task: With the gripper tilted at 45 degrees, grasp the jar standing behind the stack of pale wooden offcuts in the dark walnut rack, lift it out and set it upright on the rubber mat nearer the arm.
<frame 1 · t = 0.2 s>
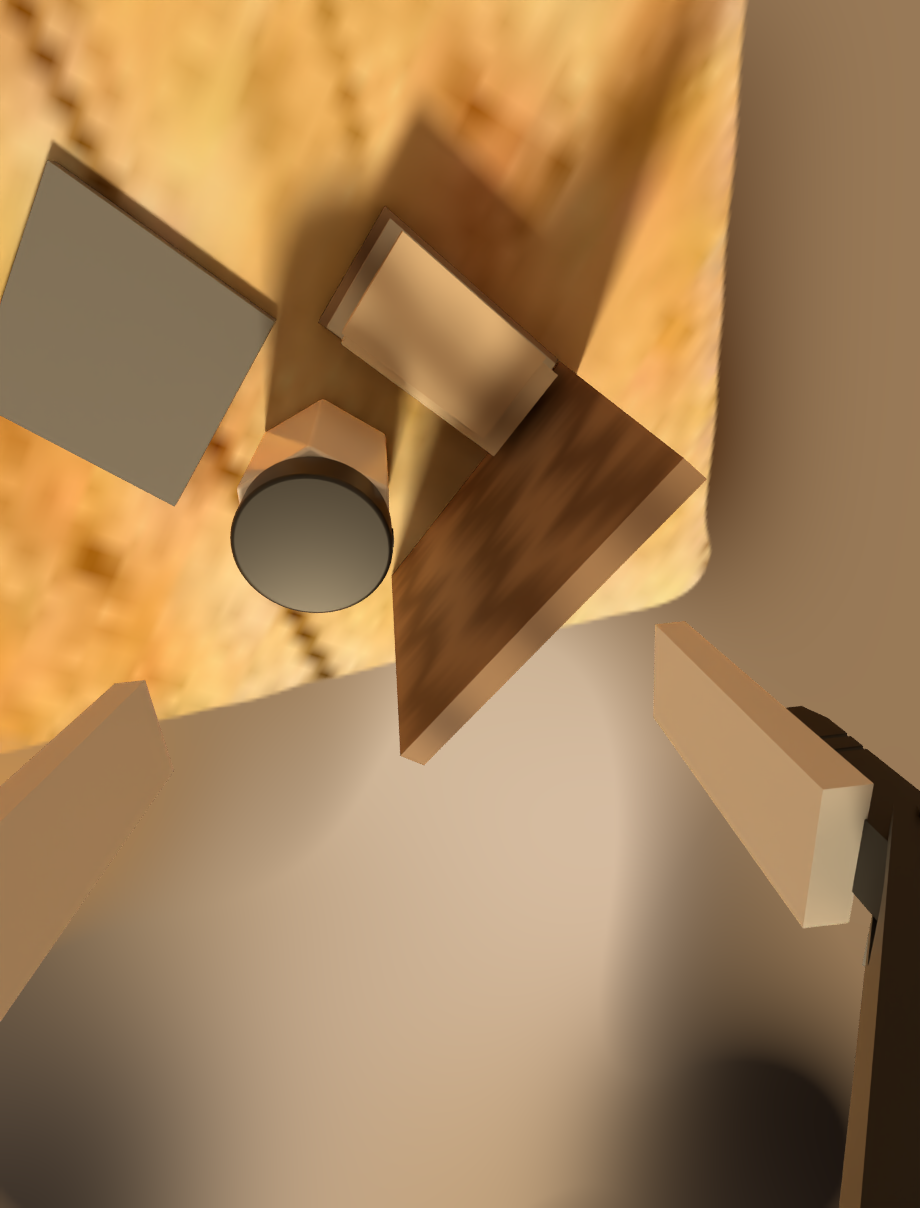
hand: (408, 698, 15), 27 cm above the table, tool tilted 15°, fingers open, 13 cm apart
jar: (328, 464, 39), on the table
rubber mat: (126, 357, 34), on the table
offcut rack: (381, 413, 37), on the table
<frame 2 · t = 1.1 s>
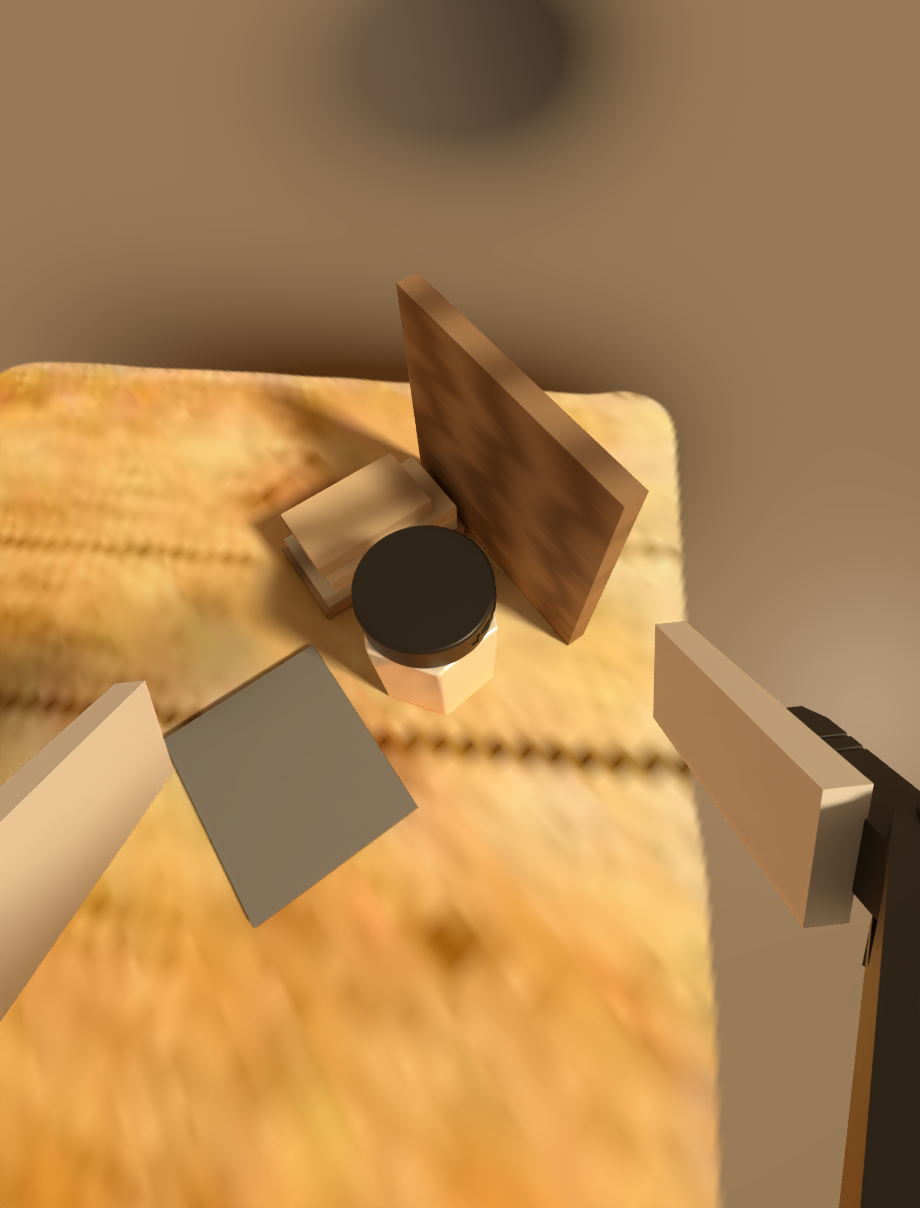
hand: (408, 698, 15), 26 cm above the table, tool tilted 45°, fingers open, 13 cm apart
jar: (436, 658, 43), on the table
rubber mat: (289, 773, 39), on the table
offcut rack: (410, 601, 44), on the table
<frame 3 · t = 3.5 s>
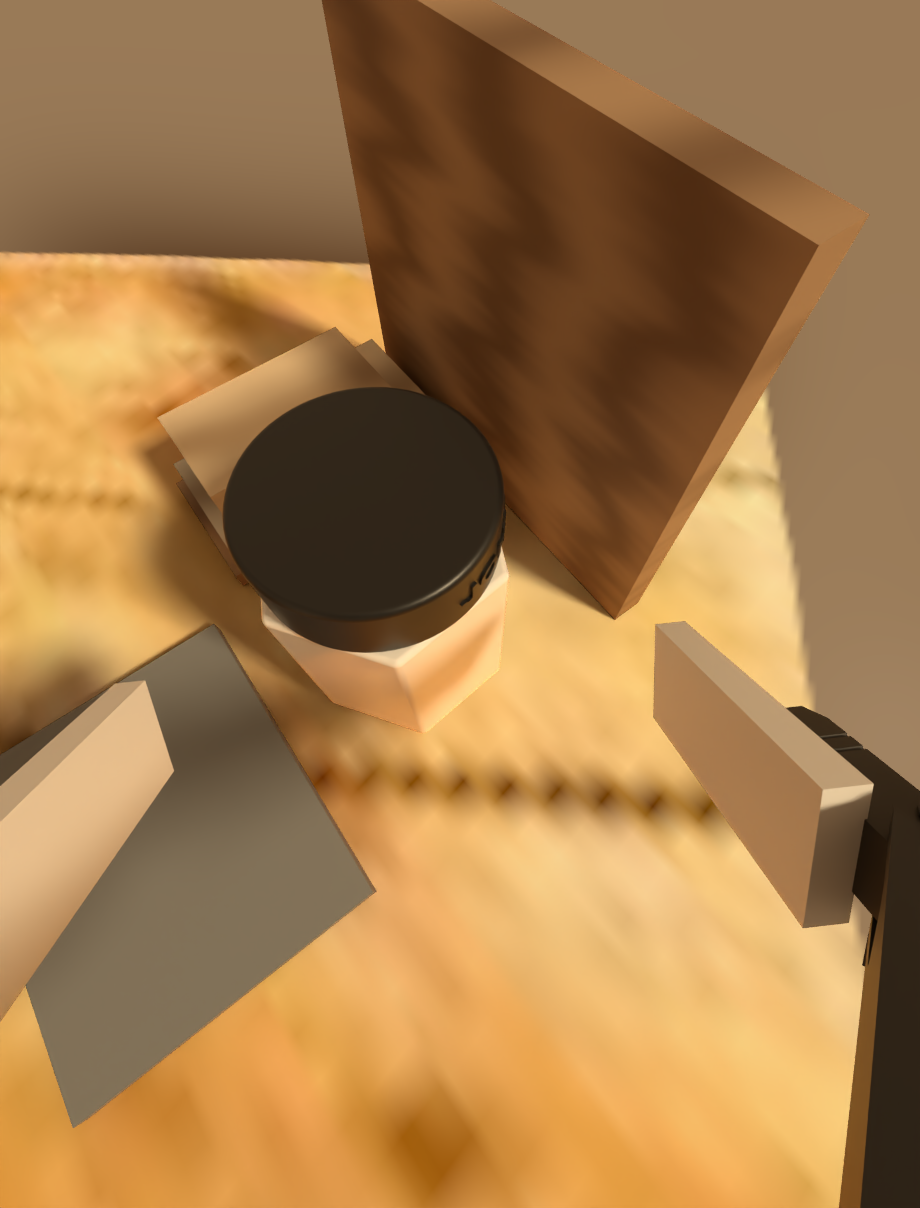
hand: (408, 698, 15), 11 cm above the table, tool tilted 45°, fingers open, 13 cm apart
jar: (409, 643, 27), on the table
rubber mat: (165, 834, 24), on the table
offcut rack: (370, 557, 29), on the table
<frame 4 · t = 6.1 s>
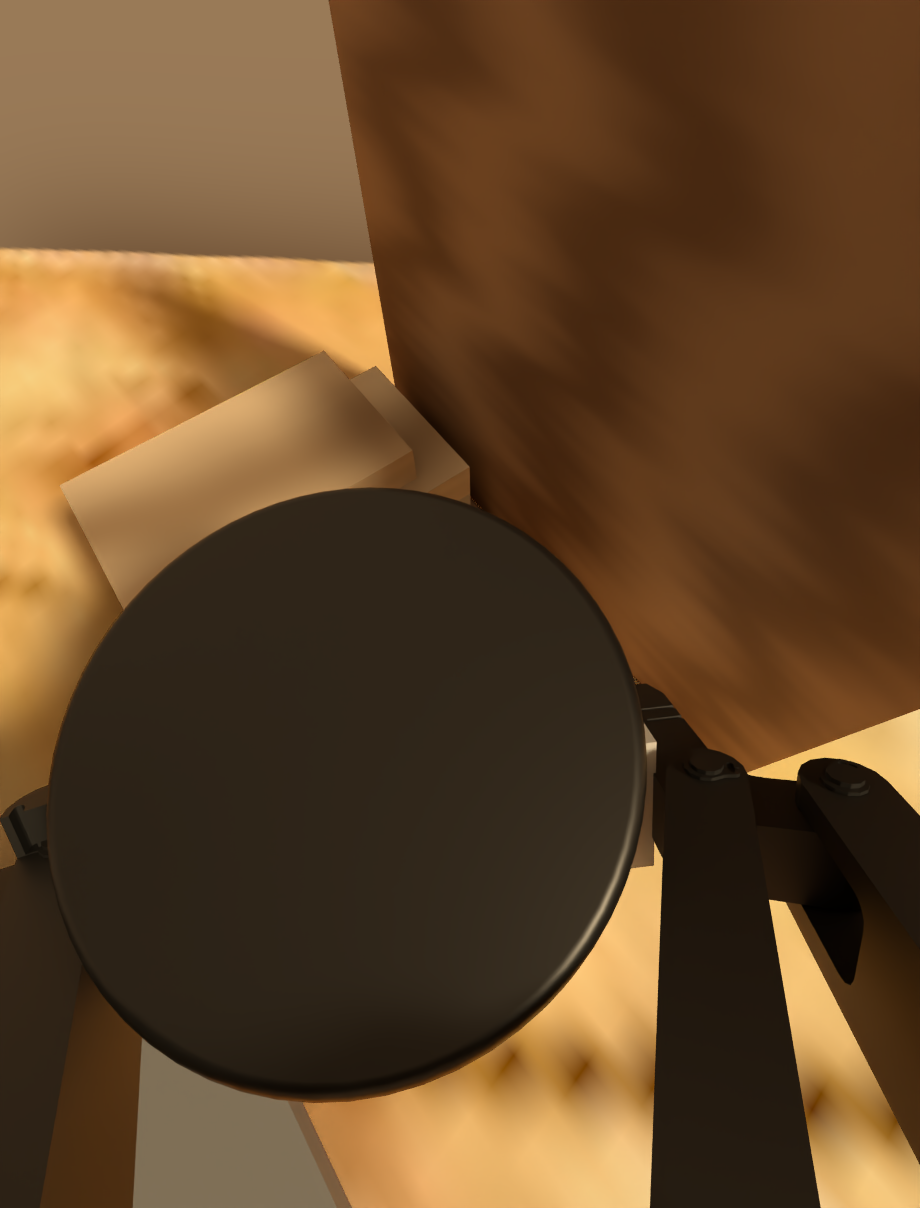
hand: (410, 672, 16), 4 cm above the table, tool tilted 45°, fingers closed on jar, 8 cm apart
jar: (423, 811, 19), on the table, touching gripper
rubber mat: (49, 1147, 15), on the table
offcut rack: (372, 675, 21), on the table
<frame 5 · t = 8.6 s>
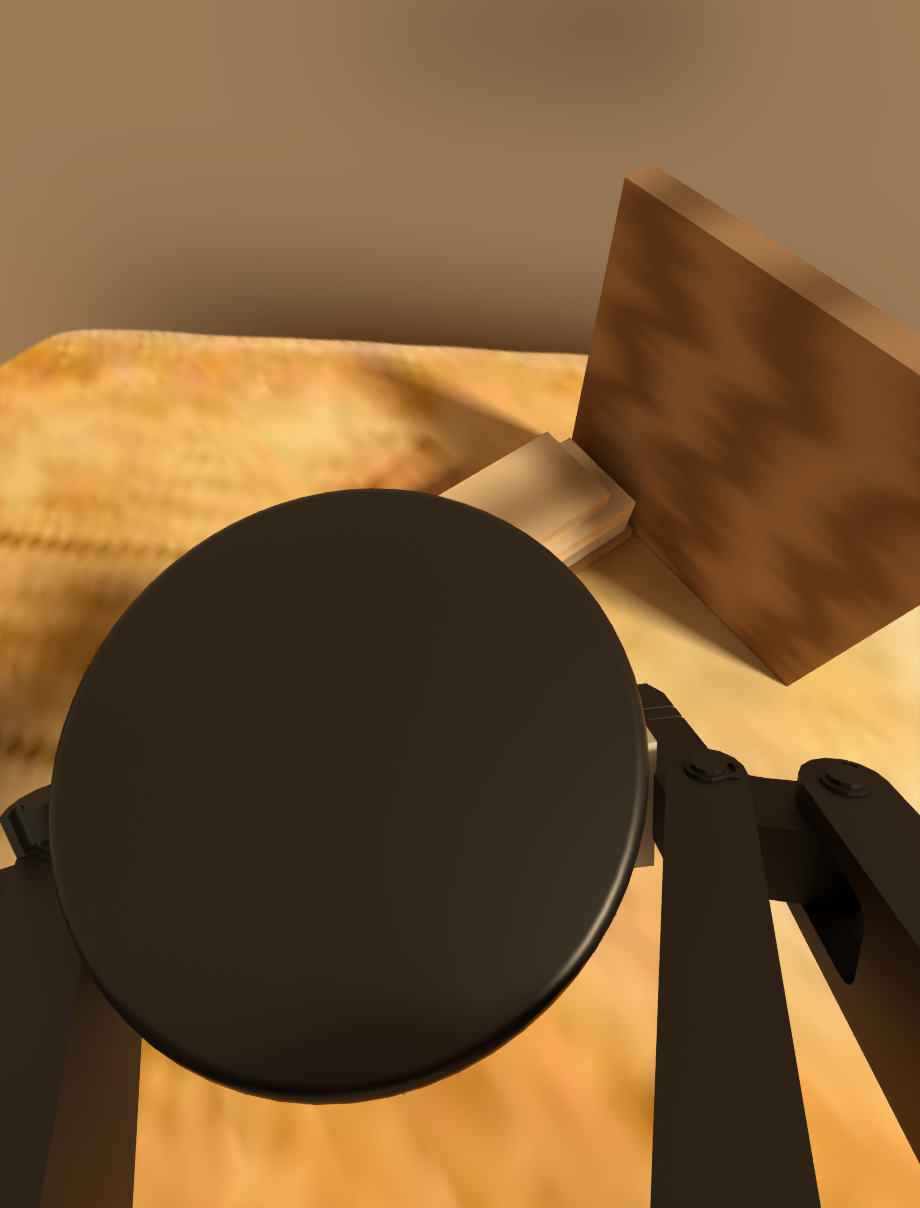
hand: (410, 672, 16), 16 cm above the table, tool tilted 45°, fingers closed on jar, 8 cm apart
jar: (424, 812, 19), point 12 cm above the table, touching gripper
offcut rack: (570, 625, 34), on the table
when the fingers open (6 cm above the table, at t = 11.1 s): jar drops 1 cm, resting on rubber mat.
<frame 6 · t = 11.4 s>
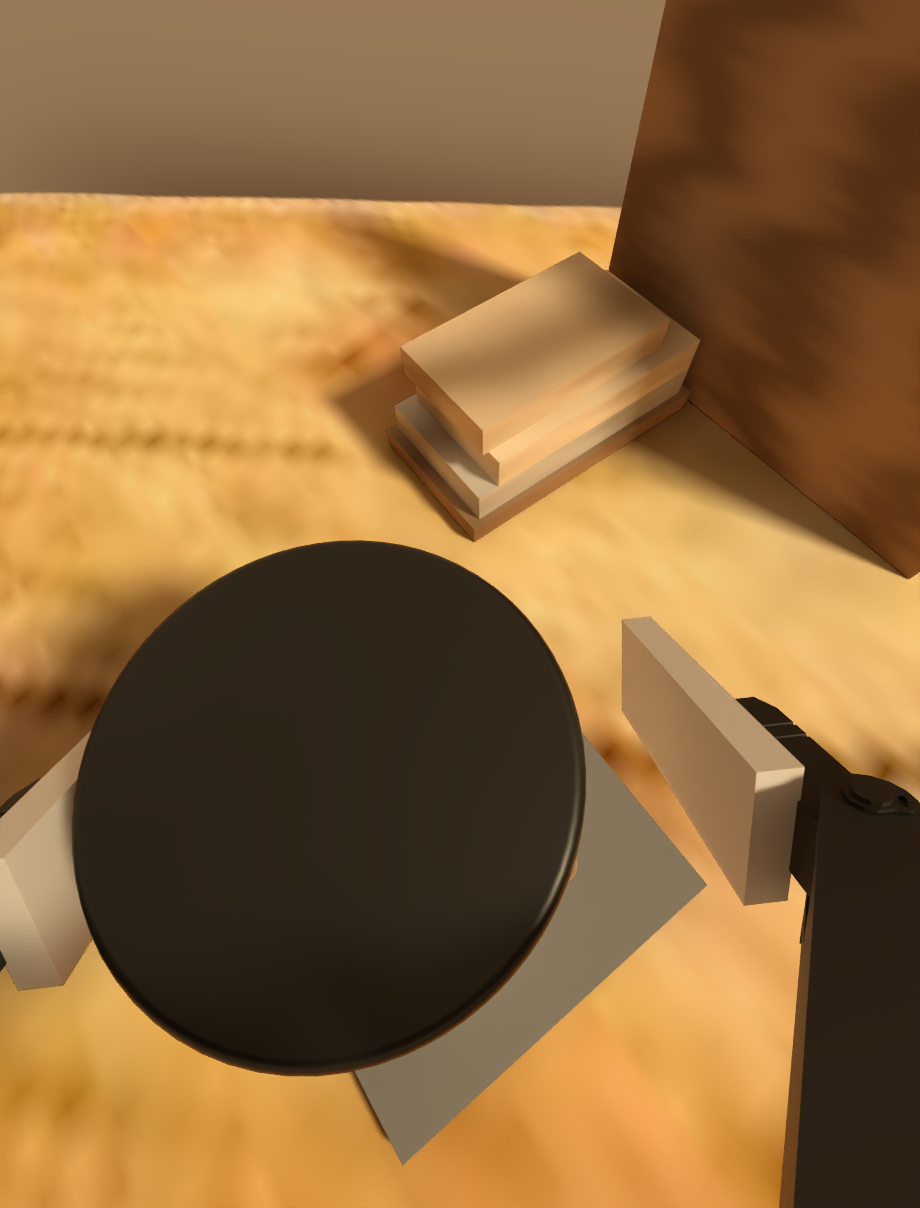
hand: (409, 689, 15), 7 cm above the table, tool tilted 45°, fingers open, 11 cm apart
jar: (411, 818, 20), point 1 cm above the table, touching rubber mat
rubber mat: (436, 818, 21), on the table
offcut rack: (613, 511, 26), on the table
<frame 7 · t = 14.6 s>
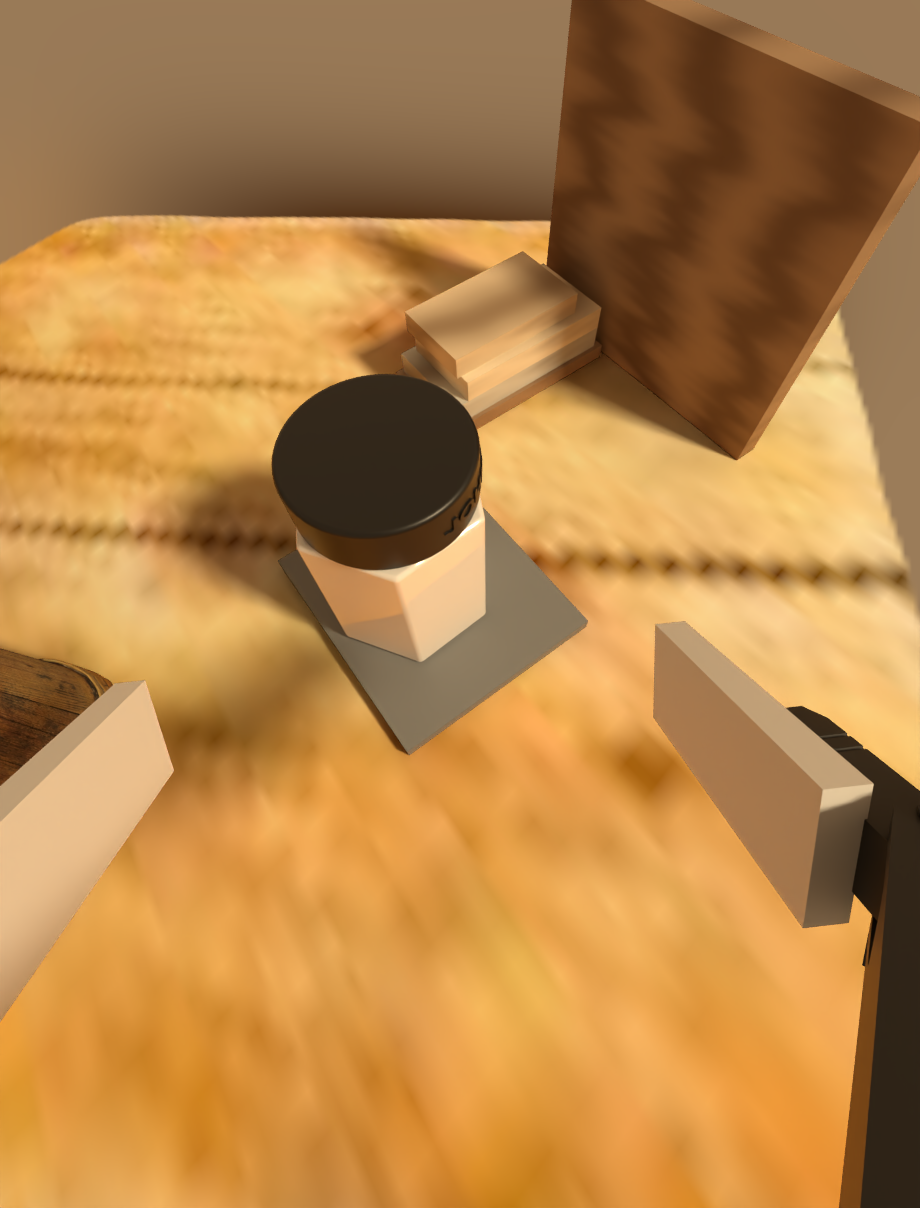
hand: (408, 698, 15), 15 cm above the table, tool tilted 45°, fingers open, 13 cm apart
jar: (412, 592, 33), point 1 cm above the table, touching rubber mat
rubber mat: (428, 596, 33), on the table
wooden mug: (9, 734, 31), on the table
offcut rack: (547, 422, 39), on the table
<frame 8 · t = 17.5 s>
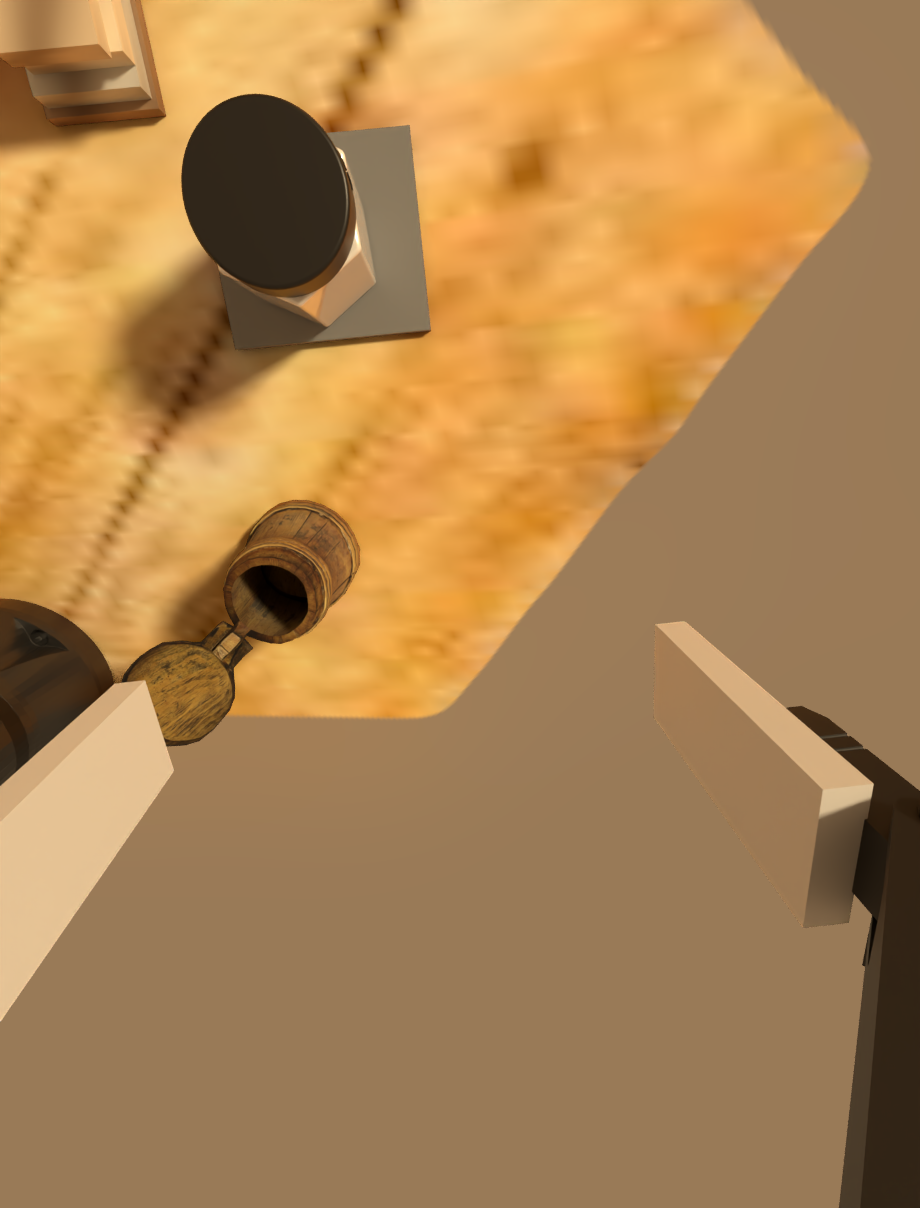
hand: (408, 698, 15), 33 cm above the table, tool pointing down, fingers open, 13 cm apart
jar: (314, 256, 39), point 1 cm above the table, touching rubber mat
rubber mat: (320, 245, 39), on the table
wooden mug: (286, 572, 47), on the table
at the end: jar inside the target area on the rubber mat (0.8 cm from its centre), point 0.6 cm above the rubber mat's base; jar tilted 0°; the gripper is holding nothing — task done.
